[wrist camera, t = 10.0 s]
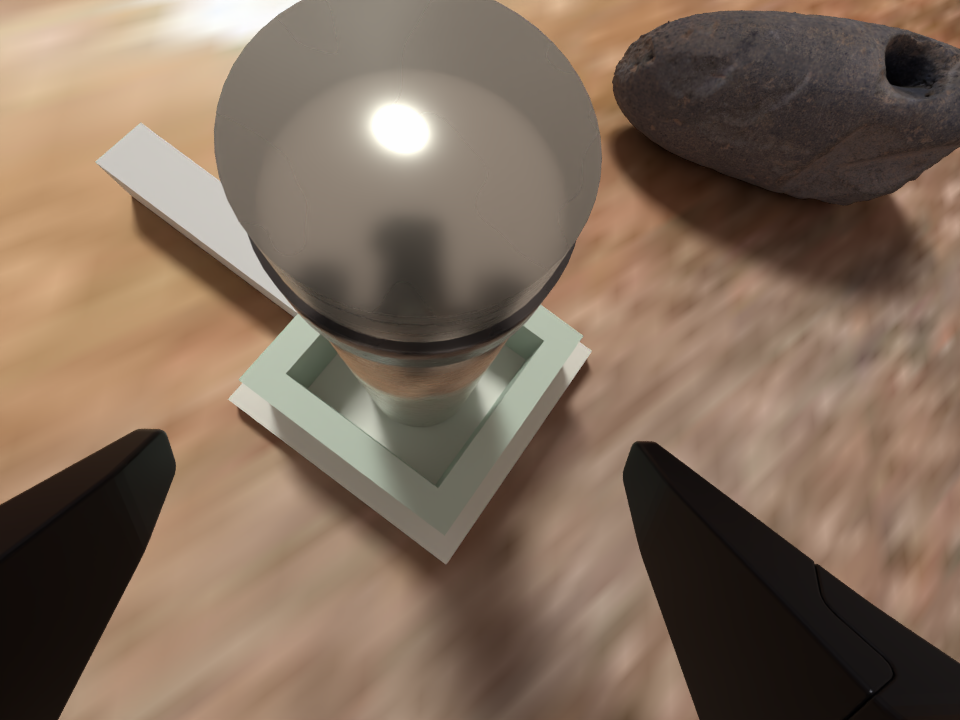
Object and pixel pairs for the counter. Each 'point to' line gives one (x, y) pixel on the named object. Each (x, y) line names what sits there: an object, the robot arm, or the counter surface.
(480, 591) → the counter surface
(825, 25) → the perforated stone tool
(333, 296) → the shiny grey metal cylinder
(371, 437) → the shaft rig
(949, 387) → the counter surface
